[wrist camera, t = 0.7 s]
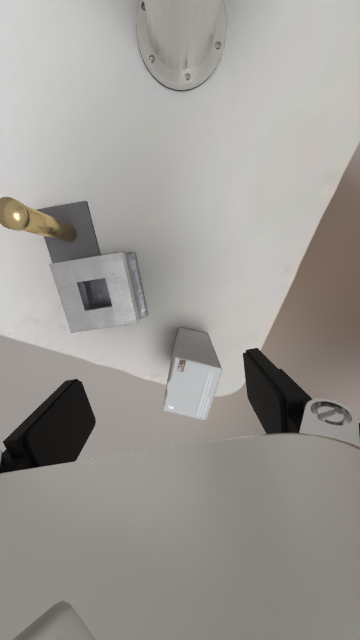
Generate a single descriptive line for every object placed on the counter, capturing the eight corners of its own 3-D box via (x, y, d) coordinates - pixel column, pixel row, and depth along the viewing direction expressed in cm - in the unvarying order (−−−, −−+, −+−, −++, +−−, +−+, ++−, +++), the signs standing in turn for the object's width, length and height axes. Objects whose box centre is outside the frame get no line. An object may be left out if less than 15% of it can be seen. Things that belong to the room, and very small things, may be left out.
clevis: (72, 263, 35) (45, 261, 28) (135, 252, 35) (123, 248, 27) (90, 323, 38) (69, 336, 31) (147, 314, 38) (140, 325, 30)
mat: (37, 210, 33) (35, 209, 32) (86, 201, 33) (85, 200, 32) (54, 263, 35) (52, 263, 35) (100, 255, 35) (99, 255, 34)
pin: (56, 224, 33) (-11, 199, 21) (75, 221, 33) (18, 194, 21) (62, 244, 34) (1, 231, 22) (80, 241, 34) (28, 226, 22)
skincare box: (199, 367, 41) (211, 425, 25) (167, 360, 40) (159, 415, 25) (209, 331, 39) (229, 370, 23) (176, 323, 38) (173, 359, 23)
